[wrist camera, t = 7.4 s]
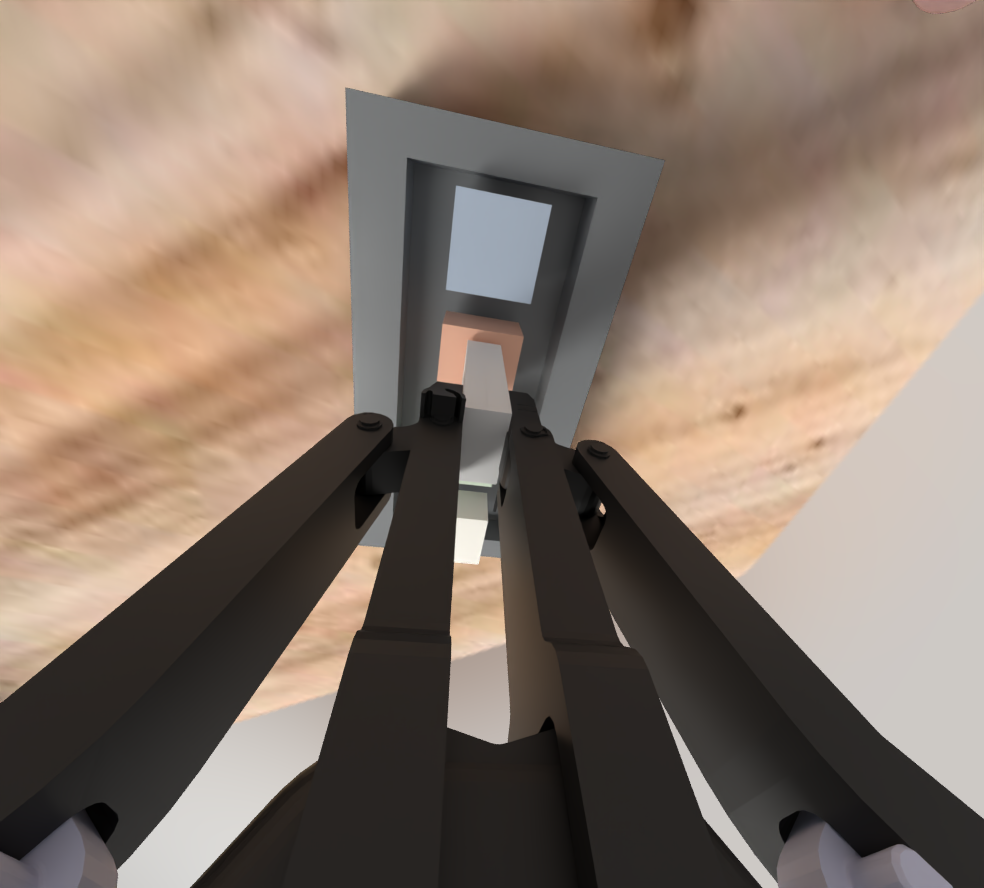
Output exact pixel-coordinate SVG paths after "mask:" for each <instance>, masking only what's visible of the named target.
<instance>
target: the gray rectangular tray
mask: <svg viewBox="0 0 984 888" xmlns="http://www.w3.org/2000/svg"><path fill="white" fill-rule="evenodd" d="M345 89H346V126H347V162H348V199H349V236H350V272H351V309H352V345H353V382H354V415H355V414H359V413H363V412H367V413H368V412H374V413H378V414H382V415H384V416H387V417H388V418H390V419H391V420H392V422H393V425H394V427H403V426H409V425H413V424H415V423H417V422H418V421H419V417H420V403H421V392H422V391H423V390H424V389H426V388H428V387H430V386H431V385H433V384H434V383H436V382H437V375H438V365H439V355H440V344H441V334H442V324H443V320H444V317H445V313H446V311H451V312H458V313H464V314H470V315H476V316H482V317H488V318H494V319H500V320H506V321H512V322H518V323H519V325H520V328H521V330H522V333H523V336H524V338H523V343H522V348H521V352H520V357H519V362H518V366H517V371H516V376H515V380H514V385H513V390H512V391H516V392H523V393H528V394H529V395H530V396H531V397H532V398H533V399H534V401H535V404H536V408H537V411H538V412H537V413H538V415H539V418H540V422H541V425H542V426H545V427H546V428H547V429H549V430H550V431H551V433H552V435H553V438H554V441H555V443H557V444H559V445H561V446H564V447H567V448H570V446H571V443H572V440H573V437H574V434H575V431H576V428H577V425H578V422H579V419H580V416H581V413H582V410H583V407H584V404H585V401H586V398H587V395H588V392H589V389H590V386H591V383H592V379H593V376H594V373H595V370H596V367H597V364H598V361H599V358H600V355H601V352H602V349H603V346H604V343H605V340H606V337H607V334H608V331H609V328H610V325H611V322H612V319H613V316H614V313H615V310H616V307H617V304H618V301H619V298H620V295H621V292H622V289H623V286H624V283H625V280H626V277H627V274H628V271H629V268H630V265H631V262H632V259H633V256H634V253H635V250H636V247H637V244H638V241H639V238H640V235H641V232H642V229H643V226H644V223H645V220H646V217H647V213H648V210H649V207H650V204H651V201H652V198H653V195H654V192H655V189H656V186H657V183H658V180H659V177H660V174H661V171H662V168H663V165H664V162H665V160H662V159H657V158H653V157H648V156H644V155H640V154H635V153H631V152H627V151H622V150H618V149H613V148H609V147H605V146H600V145H596V144H591V143H587V142H583V141H578V140H574V139H569V138H565V137H561V136H556V135H552V134H548V133H543V132H539V131H534V130H530V129H526V128H521V127H517V126H512V125H508V124H504V123H499V122H495V121H490V120H486V119H482V118H477V117H473V116H469V115H464V114H460V113H455V112H451V111H447V110H442V109H438V108H433V107H429V106H425V105H420V104H416V103H411V102H407V101H403V100H398V99H394V98H390V97H385V96H381V95H376V94H372V93H368V92H363V91H359V90H354V89H350V88H346V87H345ZM456 186H461V187H466V188H471V189H476V190H480V191H485V192H490V193H495V194H500V195H505V196H510V197H515V198H520V199H524V200H529V201H534V202H539V203H544V204H549V205H552V208H551V212H550V217H549V222H548V226H547V231H546V236H545V240H544V245H543V250H542V254H541V259H540V263H539V268H538V273H537V277H536V282H535V287H534V291H533V296H532V301H531V304H526V303H521V302H515V301H509V300H503V299H497V298H491V297H486V296H480V295H474V294H468V293H462V292H456V291H451V290H446V284H447V273H448V263H449V253H450V243H451V233H452V222H453V212H454V202H455V192H456ZM499 482H500V479H499V475H498V480H497V484H496V485H495V484H492V487H485V486H476V485H467V484H459V490H464V491H473V492H482V493H487V505H488V524H487V528H486V533H485V537H484V542H483V546H482V551H481V555H480V556H486V557H497V558H501V553H500V537H499V521H498V507H497V511H496V512H493V509H494V504H495V500H496V495H497V491H498V486H499ZM398 495H399V492H396V493H391V497H390V499H389V501H388V503H387V504H386V506H385V507H384V508H383V510H382V511H381V513H380V514H379V516H378V517H377V518H376V520H375V521H374V523H373V524H372V526H371V527H370V528H369V530H368V531H367V533H366V534H365V536H364V537H363V538H362V540H361V541H360V543H359V544H358V545H362V546H373V547H385V543H386V540H387V536H388V532H389V528H390V525H391V521H392V517H393V514H394V510H395V506H396V502H397V499H398Z"/></svg>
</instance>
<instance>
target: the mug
mask: <svg viewBox="0 0 984 888" xmlns="http://www.w3.org/2000/svg"><path fill="white" fill-rule="evenodd" d="M974 1H976V0H913V2H914V3H915V5H916V6H917V7H918V8H920V9H921V10H923V11H925V12H927V13H932V14H941V13H947V12H952V11H956V10H959V9H961V8H964V7H966V6H968V5H969V4H971V3H973V2H974Z"/></svg>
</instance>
